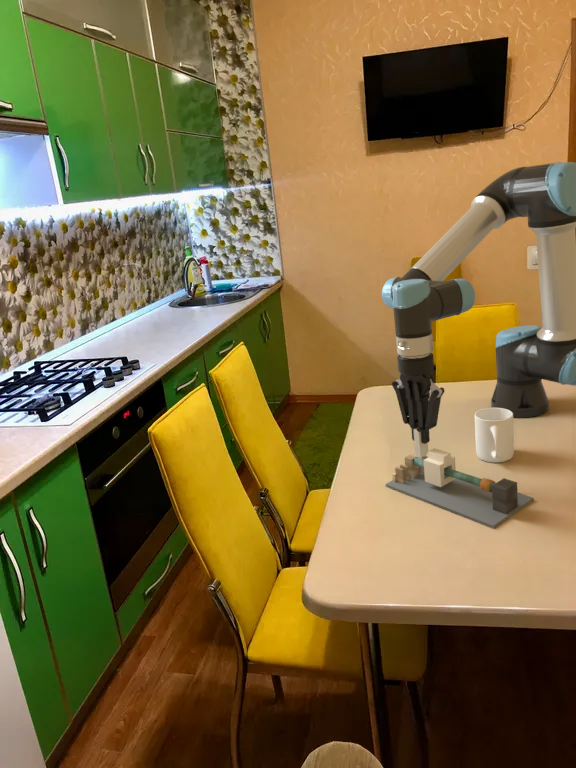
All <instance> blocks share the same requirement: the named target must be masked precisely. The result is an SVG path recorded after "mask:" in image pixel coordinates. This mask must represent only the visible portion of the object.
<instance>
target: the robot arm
mask: <svg viewBox="0 0 576 768" xmlns="http://www.w3.org/2000/svg"><path fill="white" fill-rule="evenodd" d="M516 218H527V226H528V227H527V228H528V230H531V231H532V232H533V233H534V234H535V241H536V242H535V243H536V254H537V255H536V258H537V268H538V272H537V273H538V281H539V282H538V284H539V285H538V286H539V296H540V308H541V309H540V311H541V322H542V327H541V326H539V325H534V324H533V325H531V324H529V325H520V326H514V327H510V328H506V329H502V330H501V331H498V333H497V334H496V338H495V361H496V362H495V366H496V384H495V388H494V391H493V393H492V397H491V400H490V406H491V407H490V408H504V409H507V410H510V411H511V412H512V413H513V418H517V419H518V418H521V419H522V418H532V417H537V416H540V415H544V414H545V413H547V412H548V411H549V398H548V395H547V393H546V392H547V391H546V389H545V387H544V385H543V381H548V382H553V383H556V384H561V385H563V386H565V385H568V386H576V162H572V161H568V162H566V161H565V162H562V161H557V162H552V163H544V164H537V165H530V166H521V167H517V168H516V167H515V168H514V169H511V170H509V171H507V172H505V173H503V174H502V175H500V176H498V177H497V178H496V179H495V180H493V181H492V182H491V183H489V184H488V185H487V186H486V187H484V188H483V189H482V190H481V191H480V192H479V193H478V194H477V195H476V196H475V197H474V198H473V199H472V201H471V203H470V208H469V209H468V210H467V211H466V212H465V213H464V214H463V215H462V216H461V217H460V218H459V219H458V220H457V221H456V222H455V223H454V224H453V225H452V226H451V227H450V228H449V229H448V230H447V231H446V232H445V233H444V234H443V236H441V237H440V238H439V239H438V241H437V242H436V243H434V244H433V246H431V248H429V249H428V251H427V252H426V253H425V254H424V255H423V256H422V257H421V258H419V260H418V261H417V262H416V263H414V265H412V267H410V269H409V270H408V271H407V272H406V273H405V274H403V276H401V277H399V276H397V277H392V278H390V279H388V280H386V282H385V283H384V284H383V287H382V290H381V299H382V301H383V304H384V305H385V306H386V307H387V308H389V309H392V310H393V320H394V330H395V342H396V343H395V344H396V353H397V355H398V356H397V357H396V358H397V370H398V373H399V378H398V379H396V380H393V381H392V382H391V386H392V388H393V389H394V392H395V395H396V397H397V402H398V405H399V407H398V408H399V410H400V414H401V418H402V421H403V424H404V425H409V427H410V430H411V439H412V441H413V445H414V455H415V456H416V457H419V458H421V457H423V456H425V455H426V456H427V452H428V451H429V442H430V430H431V429H433V428H435V427H436V426H437V425H438V421H439V412H440V408H441V407H440V406H441V401H442V397H443V395H444V393H445V388H444V387H439V386H438V385H436V383H435V382H436V381H435V379H434V376H433V372H434V370H435V362H434V361H435V360H434V354H433V353H432V352H433V351H434V344H433V343H434V342H433V325H432V324H433V323H432V322H436V321H440V320H443V319H446V318H451V317H454V316H461V314H463V313H466V312H469V311H470V310H471V309H472V308H473V306H474V305H475V302H476V291H475V288H474V286H473V285H472V283H471V282H470V281H469V280H467V279H465V278H455V279H454V278H451V279H450V280H445V279H446V278H447V277H448V276H449V275H450V274H451V273H452V272H454V270H456V268H457V267H458V266H459V265H460V264H461V263H462V262H463V261H464V260H465V259H466V258H467V257H468V255H469V254H471V253H472V251H474V250H475V248H476V247H477V246H478V245H479V244H481V242H482V241H484V239H485V238H486V237H487V236H488V235H489V234H490V233H491V232H492V231H493V230H496V229H499V228H501V227H502V226H503V225H504V224H505V223H506V222H507V221H510V220H513V219H516ZM542 380H543V381H542Z"/></svg>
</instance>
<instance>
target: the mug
mask: <svg viewBox="0 0 576 768" xmlns="http://www.w3.org/2000/svg"><path fill="white" fill-rule="evenodd" d="M474 431H475V432H474V434H475V435H474V436H475V438H474V439H475V453H476V456H477V458H478V459H479V460H481V461H483V462H487V463H496V464H497V463H503V462H507V461H509V460H511V459H512V458H513V457H514V454H515V446H514V445H515V444H514V443H515V441H514V439H515V438H514V437H515V436H514V433H515V432H514V417H513V413H512V412H511V411H510V410H507V409H504V408H491V407H485V408H482V409H478V410H476V411H475V413H474Z"/></svg>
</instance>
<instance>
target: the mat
mask: <svg viewBox="0 0 576 768" xmlns="http://www.w3.org/2000/svg"><path fill="white" fill-rule="evenodd" d="M419 474H420V475H418V476H416V477H414V478H410V477H409V481H406V480H405V483H403V484H402V483H400V482H397V481H396V482H393V479H391V480H390V481H389V482H387V483H385V487H386V488H389V489H391V490H394V491H397V492H399V493H401V494H405V496H409V497H412V498H415V499H416V500H420V501H421V502H425V503H428V504H430V505H432V506H434V507H437V508H439V509H443V510H445V511H447V512H450V513H452V514H455V515H458V516H461V517H462V518H466V519H468V520H470V521H473V522H475V523H478V524H480V525H484V526H485V527H488V528H491V529H493V530H494V529H495V528H496V527H497V526H499V525H500V524H502V523H504V522H505V521H506V520H508V519H509V518H510V517H512V516H513V515H515V514H516V513H518V512H519V511H520V510H522V509H523V508H525V507H526V506H527V505H529V504H531V503H532V502H533V501H534V500H535V497H534V496H530V495H527V494H524V493H521V492H518V491H517V498H518V507H516V508H515V509H513V510H512V511H511V512H509V513H508V514H503V513H501V512H498V511H495V510H493V499H492V492H488V491H485V490H482V489H480V486H477V485H474V484H471V483H468V482H465V481H462V480H459V479H454V480H452V481H451V482H449V483H447V484H446V485H444V486H442V487H439V486H436V485H433V484H431V483H428V482H425V475H424V472H423V473H422V472H419Z"/></svg>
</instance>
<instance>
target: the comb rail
mask: <svg viewBox="0 0 576 768" xmlns="http://www.w3.org/2000/svg"><path fill="white" fill-rule="evenodd" d="M426 458H428V456H427V455H425V456H423V457H421V458H419V457H416V456H415V453H414V454H413V453H411V454H408V455H406V456H404V464H400V465H399V467H398V466H396V467H395V468H394V470H395V472H393V473H392V474H391V476H392V479H391V480H393V482H396V481H397V482H400V483H402V484H403V483H405V480H406V481H409V477H410V478H414V477H416V476H418V475H420V474H419V472H422V473H423V472H424V461H423V460H424V459H426ZM444 475H447V476H450V477H453V478H456V479H459V480H462V481H465V482H468V483H471V484H474V485H477V486H480V489H482V490H485V491H488V492H492V499H493V510H495V511H498V512H501V513H503V514H508V513H509V512H511V511H512V510H513V509H515V508H516V507H518V498H517V492H518V482H517V481H514V480H511V479H507V478H502V479H500V480H499V481H497V482H495V480H492V479H489V478H486V477H483V478H480V477H477V476H474V475H470V474H467V473H464V472H461V471H457V470H453V469H449V468H444Z"/></svg>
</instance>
